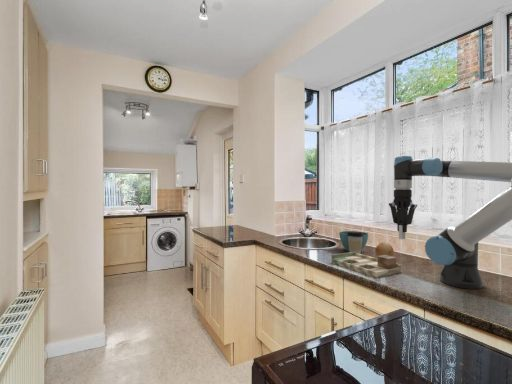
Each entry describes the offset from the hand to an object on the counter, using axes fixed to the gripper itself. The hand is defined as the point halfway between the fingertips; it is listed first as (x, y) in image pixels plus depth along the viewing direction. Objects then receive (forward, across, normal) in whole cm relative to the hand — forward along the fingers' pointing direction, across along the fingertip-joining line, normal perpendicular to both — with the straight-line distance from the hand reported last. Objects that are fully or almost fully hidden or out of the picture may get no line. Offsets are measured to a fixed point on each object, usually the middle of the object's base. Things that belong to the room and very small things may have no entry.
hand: (402, 238), depth 129 cm
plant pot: (+18, -48, +21) cm, 55 cm away
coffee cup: (+18, -37, +10) cm, 42 cm away
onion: (+18, -24, +20) cm, 36 cm away
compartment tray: (+18, -18, -4) cm, 26 cm away
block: (+15, -8, 0) cm, 17 cm away
